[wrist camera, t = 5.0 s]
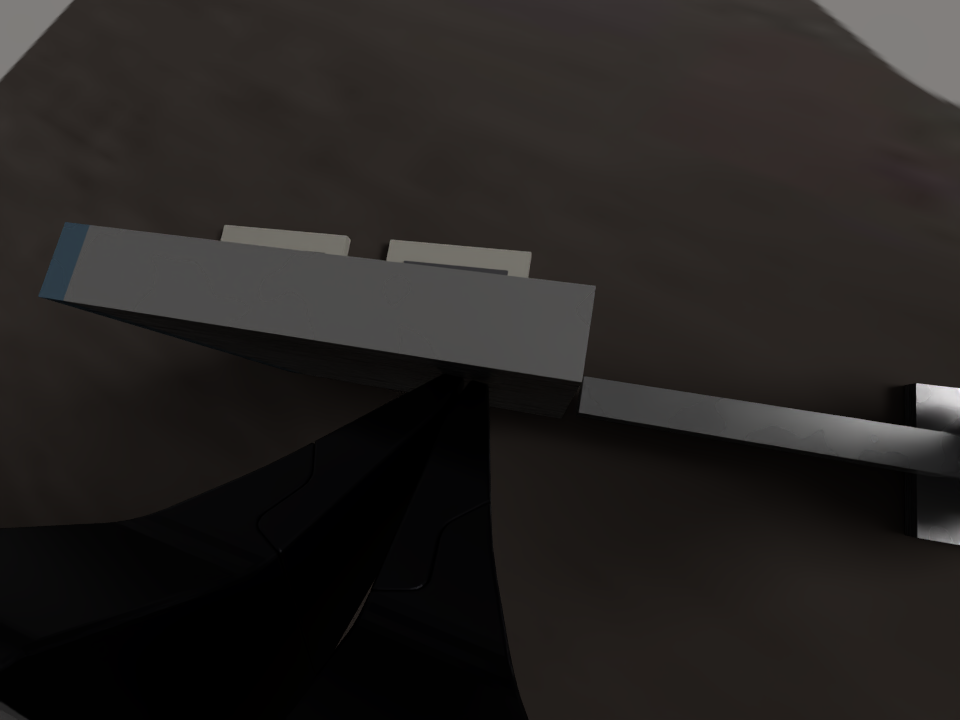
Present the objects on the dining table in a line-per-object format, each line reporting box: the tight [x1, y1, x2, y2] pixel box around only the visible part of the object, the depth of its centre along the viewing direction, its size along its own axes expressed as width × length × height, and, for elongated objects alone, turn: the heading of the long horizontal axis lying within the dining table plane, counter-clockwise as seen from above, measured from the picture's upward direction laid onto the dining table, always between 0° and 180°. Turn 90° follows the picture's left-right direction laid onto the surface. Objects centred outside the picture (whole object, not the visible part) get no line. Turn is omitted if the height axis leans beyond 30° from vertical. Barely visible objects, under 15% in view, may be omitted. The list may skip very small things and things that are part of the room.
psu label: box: [386, 240, 531, 278], centre depth 18 cm, size 6×4×1 cm, turn 81°
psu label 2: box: [221, 225, 351, 256], centre depth 20 cm, size 6×4×1 cm, turn 81°
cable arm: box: [38, 222, 960, 478], centre depth 12 cm, size 22×2×9 cm, turn 80°
